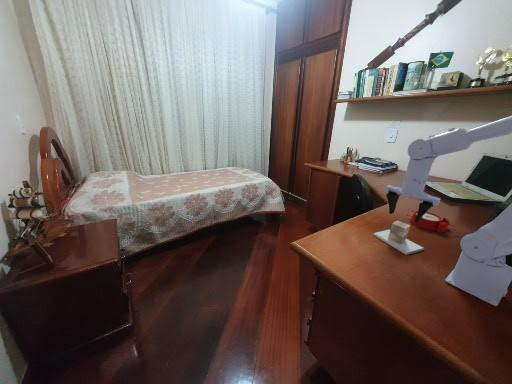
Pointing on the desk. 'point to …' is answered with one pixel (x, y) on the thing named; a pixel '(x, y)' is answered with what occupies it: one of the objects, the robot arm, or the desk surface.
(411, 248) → the external hard drive
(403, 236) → the birch block
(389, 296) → the desk surface
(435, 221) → the alarm clock
